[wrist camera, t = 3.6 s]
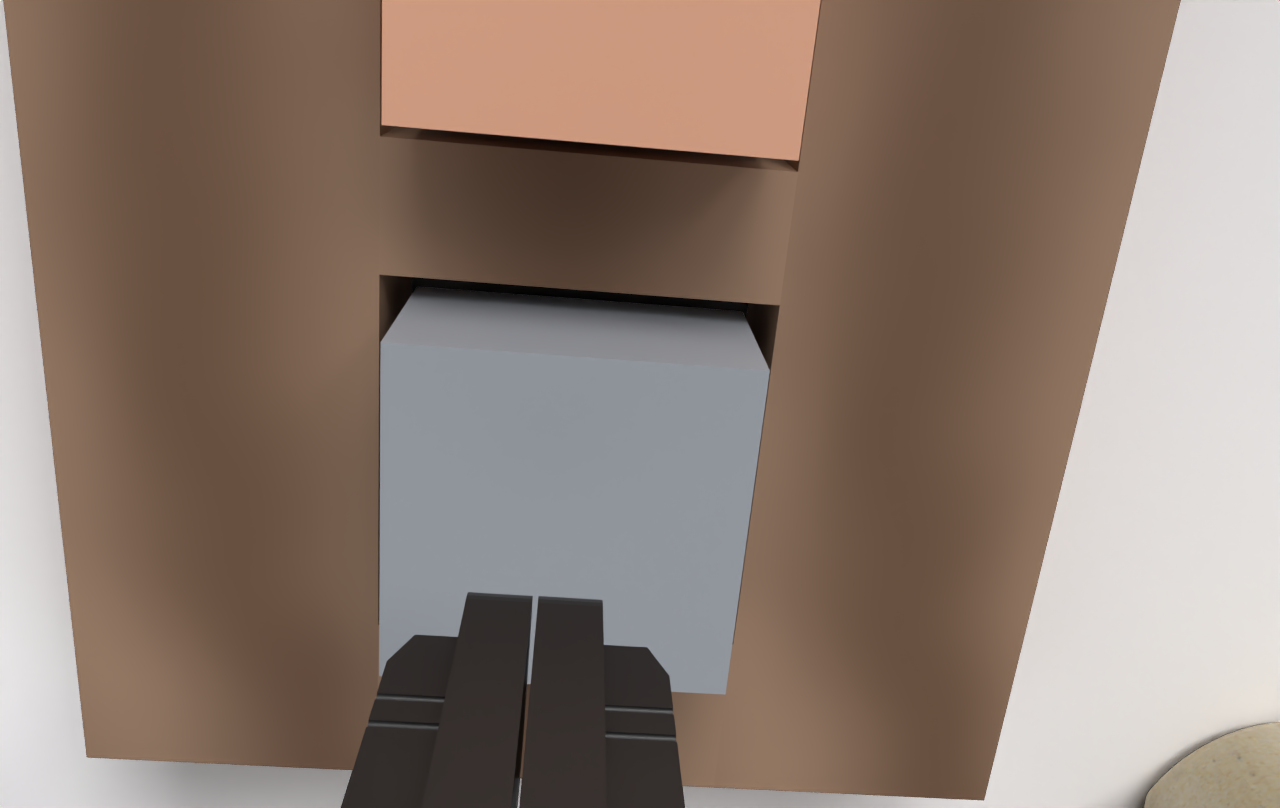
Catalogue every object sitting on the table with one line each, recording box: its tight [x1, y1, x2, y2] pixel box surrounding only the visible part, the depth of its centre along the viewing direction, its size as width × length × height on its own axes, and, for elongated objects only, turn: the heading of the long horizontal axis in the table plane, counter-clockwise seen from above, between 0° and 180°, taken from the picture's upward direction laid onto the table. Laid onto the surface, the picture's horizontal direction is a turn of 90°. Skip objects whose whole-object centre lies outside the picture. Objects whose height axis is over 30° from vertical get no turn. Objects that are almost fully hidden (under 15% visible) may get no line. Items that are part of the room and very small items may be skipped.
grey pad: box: [379, 286, 770, 695], centre depth 17 cm, size 5×5×3 cm
